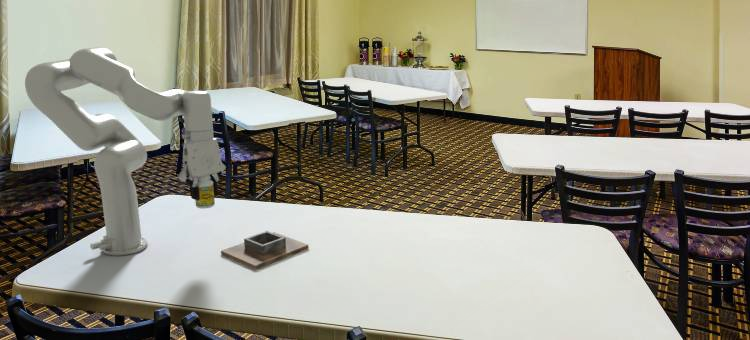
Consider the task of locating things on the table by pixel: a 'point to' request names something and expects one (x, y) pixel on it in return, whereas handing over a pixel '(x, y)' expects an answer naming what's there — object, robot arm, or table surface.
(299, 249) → the board with square frame
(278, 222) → the table surface
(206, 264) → the table surface
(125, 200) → the robot arm
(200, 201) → the supplement bottle
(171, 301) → the table surface
